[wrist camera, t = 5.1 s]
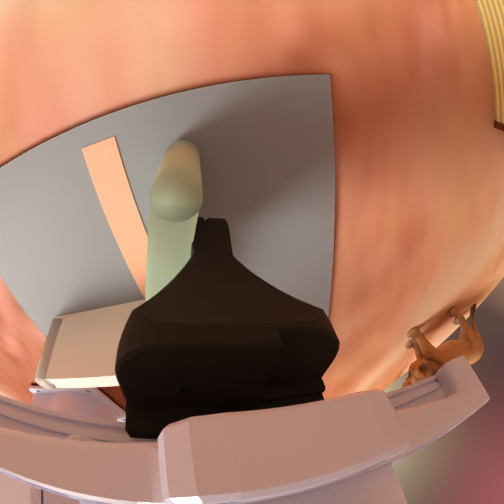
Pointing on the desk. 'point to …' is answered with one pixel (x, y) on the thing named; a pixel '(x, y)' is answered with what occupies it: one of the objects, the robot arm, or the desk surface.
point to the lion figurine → (443, 349)
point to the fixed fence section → (82, 351)
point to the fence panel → (173, 214)
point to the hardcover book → (495, 50)
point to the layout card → (140, 184)
